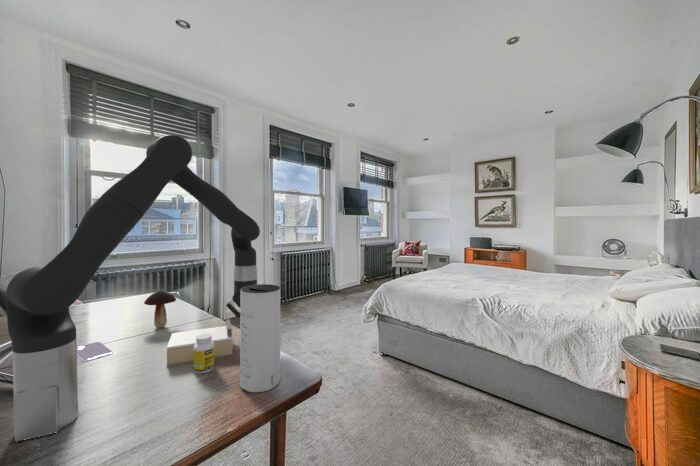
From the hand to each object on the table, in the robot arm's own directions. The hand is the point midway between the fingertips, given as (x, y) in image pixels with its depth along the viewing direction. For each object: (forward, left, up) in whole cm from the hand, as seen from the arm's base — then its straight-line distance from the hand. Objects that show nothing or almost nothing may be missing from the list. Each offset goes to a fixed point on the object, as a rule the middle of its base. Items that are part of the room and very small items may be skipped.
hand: (245, 327), depth 100 cm
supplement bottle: (-12, +13, -7) cm, 19 cm away
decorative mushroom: (+32, +30, -7) cm, 44 cm away
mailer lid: (0, +14, -1) cm, 14 cm away
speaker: (-26, -1, -7) cm, 27 cm away
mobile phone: (+16, +46, -7) cm, 50 cm away
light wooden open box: (0, +14, -6) cm, 15 cm away
